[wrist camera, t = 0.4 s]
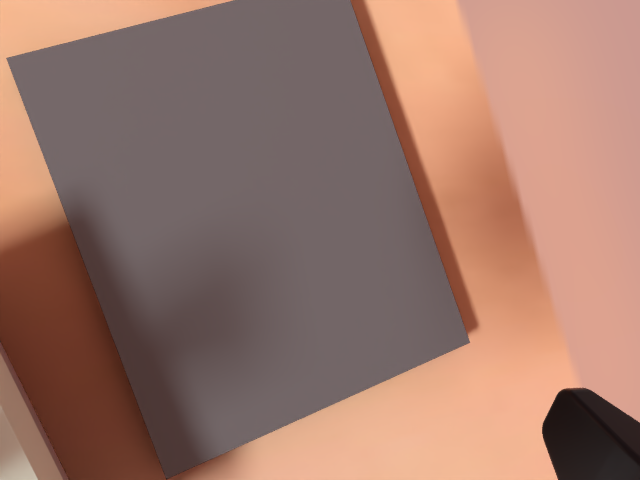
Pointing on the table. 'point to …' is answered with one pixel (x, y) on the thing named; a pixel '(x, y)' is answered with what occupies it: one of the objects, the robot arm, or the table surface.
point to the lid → (21, 437)
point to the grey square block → (32, 412)
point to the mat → (241, 215)
